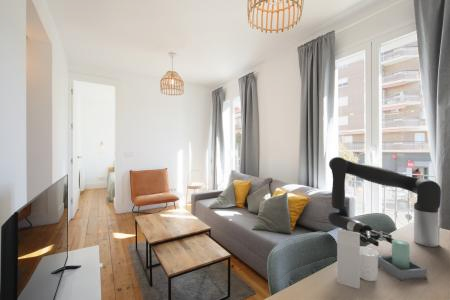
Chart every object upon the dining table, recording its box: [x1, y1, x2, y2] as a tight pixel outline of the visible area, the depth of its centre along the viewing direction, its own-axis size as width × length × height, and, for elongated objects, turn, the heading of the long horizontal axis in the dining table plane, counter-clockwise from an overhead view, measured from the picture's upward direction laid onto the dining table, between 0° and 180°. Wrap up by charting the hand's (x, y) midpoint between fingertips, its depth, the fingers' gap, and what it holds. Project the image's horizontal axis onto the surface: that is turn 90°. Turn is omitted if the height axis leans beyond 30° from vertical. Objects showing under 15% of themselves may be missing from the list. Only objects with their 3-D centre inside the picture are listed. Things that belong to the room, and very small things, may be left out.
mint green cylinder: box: [391, 239, 411, 270], centre depth 88 cm, size 6×6×11 cm
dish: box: [378, 255, 428, 282], centre depth 88 cm, size 11×11×4 cm
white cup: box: [360, 245, 380, 282], centre depth 85 cm, size 8×8×10 cm
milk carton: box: [336, 229, 361, 290], centre depth 82 cm, size 7×7×19 cm
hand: (386, 243), depth 95 cm, fingers open, 8 cm apart
